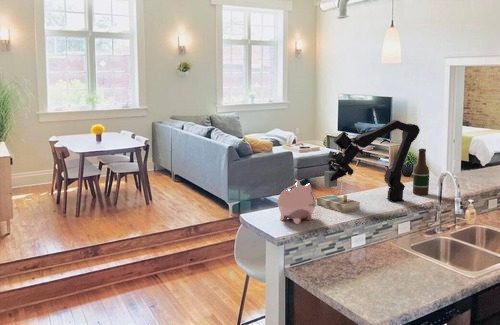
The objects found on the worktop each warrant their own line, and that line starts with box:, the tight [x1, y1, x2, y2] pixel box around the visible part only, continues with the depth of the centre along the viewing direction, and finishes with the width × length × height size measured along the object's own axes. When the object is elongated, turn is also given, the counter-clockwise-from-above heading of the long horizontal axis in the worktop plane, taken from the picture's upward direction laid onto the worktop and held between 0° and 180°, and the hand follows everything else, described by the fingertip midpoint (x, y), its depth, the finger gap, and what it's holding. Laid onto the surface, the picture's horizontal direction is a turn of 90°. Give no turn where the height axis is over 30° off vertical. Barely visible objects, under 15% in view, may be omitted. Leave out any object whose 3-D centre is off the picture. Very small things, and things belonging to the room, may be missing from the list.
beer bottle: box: [412, 148, 430, 197], centre depth 248 cm, size 8×8×24 cm
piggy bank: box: [277, 181, 317, 225], centre depth 210 cm, size 15×18×16 cm
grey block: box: [323, 170, 338, 188], centre depth 231 cm, size 5×5×7 cm
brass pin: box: [343, 194, 348, 202], centre depth 224 cm, size 2×2×3 cm
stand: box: [316, 194, 361, 214], centre depth 229 cm, size 19×10×4 cm, turn 33°
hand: (328, 179), depth 231 cm, fingers closed on grey block, 5 cm apart
